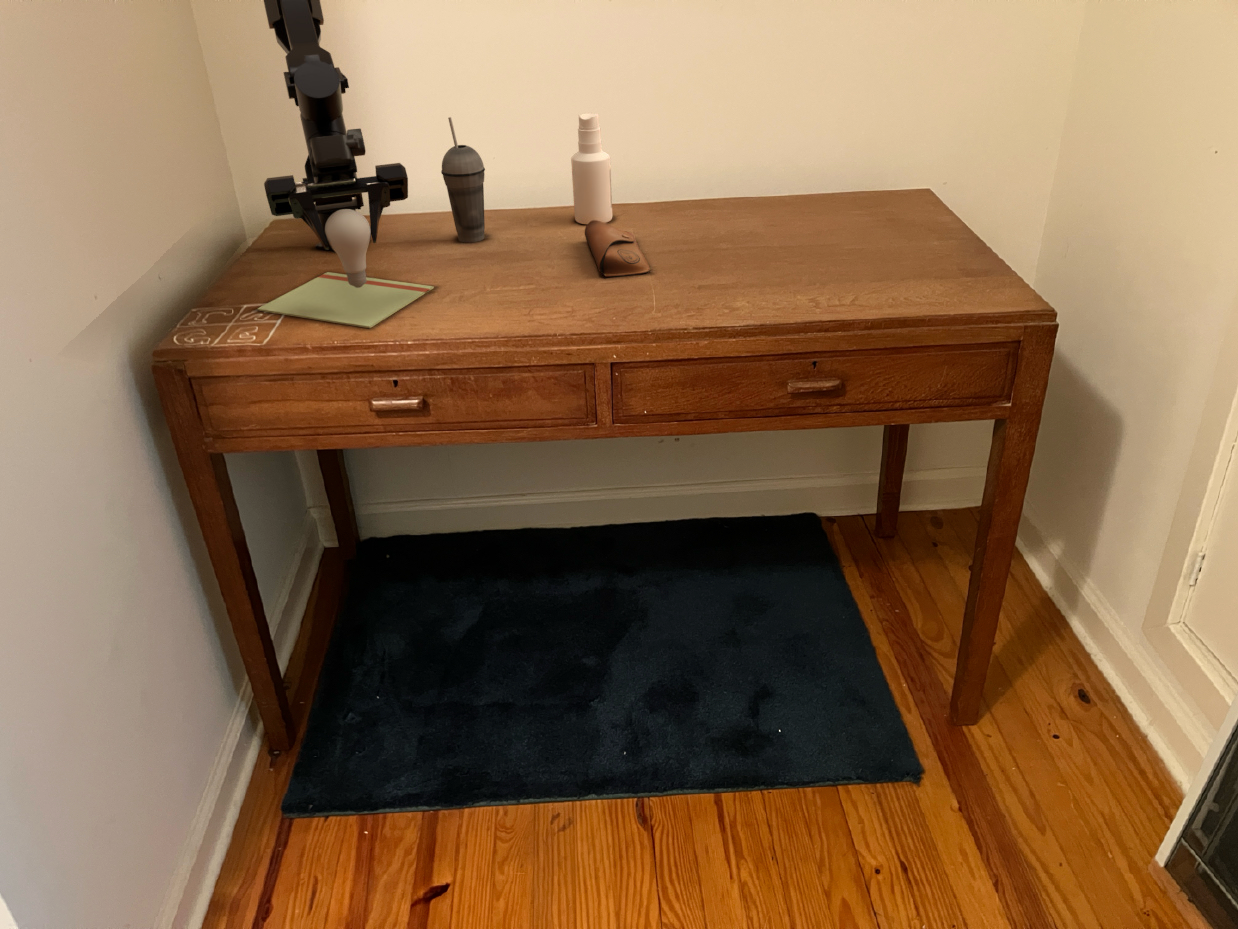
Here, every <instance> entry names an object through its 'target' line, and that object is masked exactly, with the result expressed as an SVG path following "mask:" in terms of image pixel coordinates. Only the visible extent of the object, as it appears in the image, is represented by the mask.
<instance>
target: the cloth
mask: <svg viewBox="0 0 1238 929" xmlns="http://www.w3.org/2000/svg"><path fill="white" fill-rule="evenodd" d="M366 279H367V282H366V283H365V284H364V285H363V286H362V287H360V288H356V287H355V286H352V285H350V284H349V282H348V279H347V275H346V273H337V272H331V271H327V272H325V273H323V274H321V275H319V276H317V277H315V278H313V279H311V280H310V281H308V282H306V283H304V284H301V285H300V286H298V287H296V288H294V289H292V290H290V291H288V292H286V293H285V294H283V295H281V296H278V297H276V298H275V299H273V300H271V301H269V302H267V303H265V304H263V305H261V306H260V307H257V311H258V312H264V313H272V314H277V315H283V316H284V315H285V316H291V317H296V318H297V317H298V318H303V319H308V320H315V321H322V322H327V323H334V324H339V325H346V326H351V327H352V326H353V327H359V328H366V329H371V328H373V327H374V326H376V325H378V324H379V323H381V322H382V321H384V320H386V319H387V318H389V317H391V316H392V315H394V314H396V312H398V311H401V309H403V308H405V307H407V306H408V305H409V304H411V303H413V302H414V301H416V300H417V299H419V298H420V297H422V296H424V295H425V294H427V293H429V292H430V291H432V290H434V287H435V286H434V285H427V284H419V283H412V282H404V281H398V280H397V281H396V280H389V279H382V278H375V277H368V276H366Z"/></svg>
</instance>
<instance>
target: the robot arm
mask: <svg viewBox="0 0 1238 929" xmlns="http://www.w3.org/2000/svg"><path fill="white" fill-rule="evenodd" d="M263 4H264V9H265V13H266V14H265V15H266V19H267V23H268V29H270V30H274V35H275V39H276V43H277V44H278V46H279V47H280V48H281V49H282V50H283V52H284V53H285V54H286V55H285V62H286V67H287V71H283V73H282V74H283V77H284V78H283V79H284V82H285V87H286V91H287V96H288V99H289V100H294V104H295V106H296V107H297V108H298V110H299V112H300V114H299V117H300V122H301V127H302V130H303V135H304V140H305V144H306V149H307V154H308V155H307V158H306V160H305V163H304V172H305V176H306V177H302V178H301V179H302V181H297V182H296V181H295V177H294V175H293V174H292V175H291V174H290V175H283V176H273V177H267V178H266V179H265V181H264V182H263V186H264V191H265V196H266V199H267V203H268V206H269V211H270V213H271V216H274V217H280V216H281V217H282V216H289V215H292V216H293V218H294V219H298V220H299V219H301V220H302V221H303V222H304V223H305V224H306V225H307V226H308V227H309V229H311V231H312V232H313V233H314V235H315V236H316V238H317V239H318V240H319V242H318V243H316V244H315V245H314V247H315V249H321V250H327V251H328V250H329V251H334V250H333V249H332V247H331V246H330V245H329V243H328V241H327V238H326V234H325V225H326V222H327V220H328V218H329V217H330V216H331V215H332V214H333V213H334V212H336V211H338V210H342V209H351V210H355V211H357V210H361V209H362V207H364V206H365V205H364V204H365V203H364V198H363V194H365V193H367V197H368V198H367V199H368V210H369V225H370V227H371V239H372V243H373V244H377V242H378V240H377V239H378V233H379V225H380V219H381V217H382V213H383V211H384V208H388V207H390V206H391V203H393V202H399V201H405V200H406V199H408V198H409V178H408V173H407V168H406V167H405V166H404V165H403V164H402V163H401V162H395V163H386V164H378V165H375V166H374V168H375V175H374V176H373V175H372V176H365V177H358V175H357V173H358V166H357V162H356V157H361V156H365V155H366V145H365V140H364V137H363V132H362V128H352V129H347V127H346V124H345V119H344V114H343V112H344V106H343V105H344V103H343V96H342V95H344V94H347V93H346V89H349V88H350V86H349V80H348V78H347V77H346V75H345V74H343V72H342V71H341V69H340V67H339V66H338V67H335V63H334V60H333V58H332V54H331V52H329V51H328V50H327V49H325V48H323V47H321V46H320V43H321V41H322V29H321V26H324V25H325V24H324V22H325V20H324V19H325V18H324V14H323V9H322V3H321V0H263Z"/></svg>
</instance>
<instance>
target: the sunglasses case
mask: <svg viewBox="0 0 1238 929" xmlns="http://www.w3.org/2000/svg"><path fill="white" fill-rule="evenodd" d="M584 228H585V229H584V237H585V240H586V242H587V244H588V246H589V249H590V251H591V254H592V256H593V258H594V261H595V264H596V267H597V269H598V271H600V273H601V274H602V275H603V276H604V277H608V278H610V277H628V276H634V275H641V274H646V273H648V272H650V271H651V268H650V265H649V263H648V261H647V260H646V258H645V255H644V254H643V252H642V251H641V250H642V249H641V248H640V246H639V245H638V243H637V241H636V237H635V235H634V234H633V233H631V232H629V231H625V230H621V229H619V228H618V227H616V226H614V225H611V224H609V223H608V222H606V223H604V222H601V221H597V220H592V221H590V222H589V223H588V225H587V224H586V226H585V227H584Z"/></svg>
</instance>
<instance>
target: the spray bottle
mask: <svg viewBox="0 0 1238 929" xmlns="http://www.w3.org/2000/svg"><path fill="white" fill-rule="evenodd" d="M577 135H578V136H577V137H578V138H577V139H578V142H577V146H578V147H577V148H578V151H577V152H576V153H574V154H573V155H572V156H571V158H570V162H571V178H572V179H571V181H572V194H573V210H574V213H573V214H574V220H575V222H576V223H578V224H582V225H586V226H587V225H588V223H589V222H590V221H592V220H597V221H601V222H604V223H609V222H611V221H612V219H613V194H612V192H613V191H612V168H611V156H610V154H609V153H607V152H605V151H604V150H603V143H602V132H601V126H600V116H599V114H598V113H595V112H594V113H593V112H587V113H586V112H585V113H580V114H578V128H577Z"/></svg>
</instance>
